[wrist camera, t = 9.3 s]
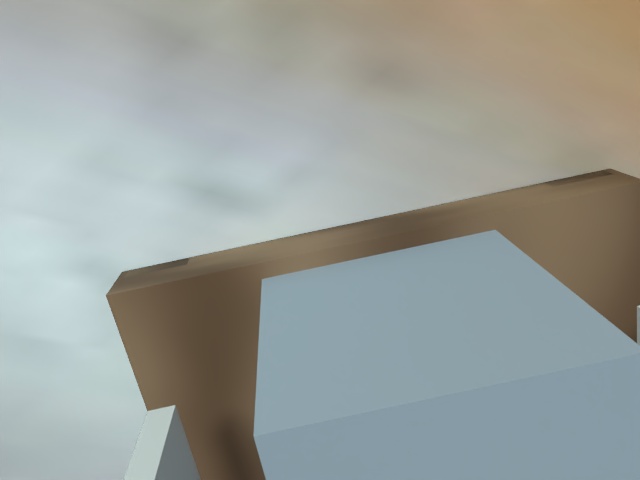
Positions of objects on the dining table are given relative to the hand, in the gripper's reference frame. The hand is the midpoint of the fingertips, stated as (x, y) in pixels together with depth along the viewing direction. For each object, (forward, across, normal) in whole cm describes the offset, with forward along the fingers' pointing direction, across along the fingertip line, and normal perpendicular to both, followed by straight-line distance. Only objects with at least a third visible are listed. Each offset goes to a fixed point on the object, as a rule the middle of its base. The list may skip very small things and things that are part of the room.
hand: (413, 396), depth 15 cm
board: (+4, 0, 0) cm, 4 cm away
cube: (+2, 0, 0) cm, 2 cm away
